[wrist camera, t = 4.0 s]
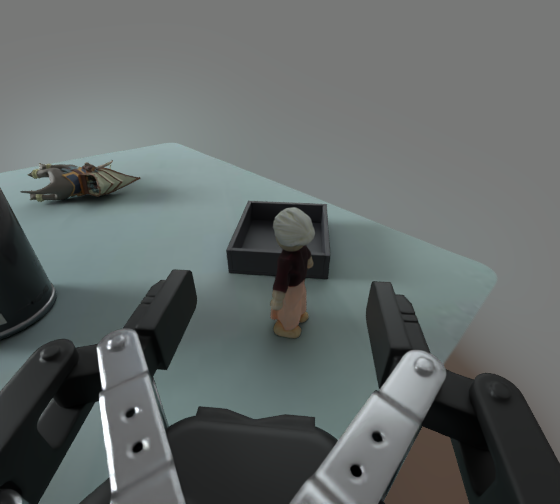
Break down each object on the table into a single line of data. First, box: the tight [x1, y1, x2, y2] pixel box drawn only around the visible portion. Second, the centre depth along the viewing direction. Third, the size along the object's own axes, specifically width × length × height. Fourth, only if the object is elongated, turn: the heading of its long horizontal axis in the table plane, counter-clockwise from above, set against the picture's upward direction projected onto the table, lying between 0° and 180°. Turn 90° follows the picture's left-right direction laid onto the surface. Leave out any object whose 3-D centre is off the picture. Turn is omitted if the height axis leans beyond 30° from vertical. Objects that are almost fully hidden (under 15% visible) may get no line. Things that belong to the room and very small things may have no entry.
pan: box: [226, 201, 330, 279], centre depth 43 cm, size 12×14×3 cm
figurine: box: [21, 160, 140, 202], centre depth 57 cm, size 20×6×17 cm
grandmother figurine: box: [270, 207, 315, 338], centre depth 27 cm, size 8×4×13 cm, turn 165°
